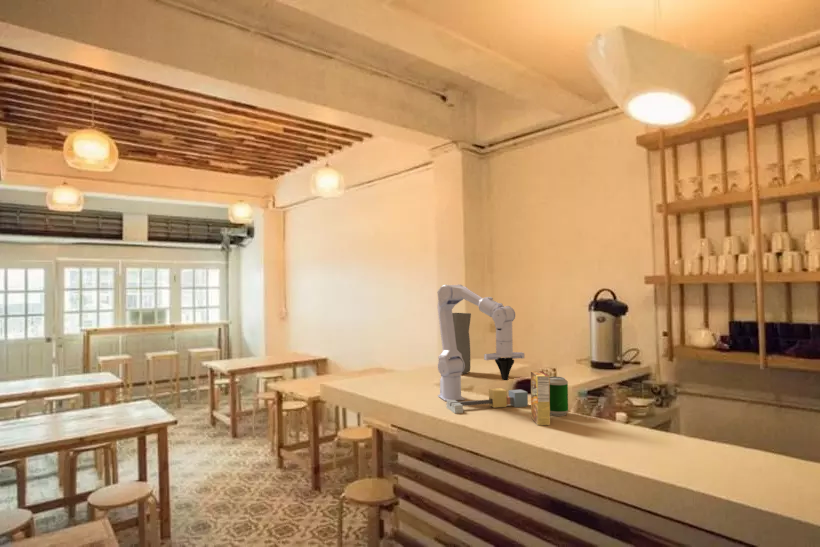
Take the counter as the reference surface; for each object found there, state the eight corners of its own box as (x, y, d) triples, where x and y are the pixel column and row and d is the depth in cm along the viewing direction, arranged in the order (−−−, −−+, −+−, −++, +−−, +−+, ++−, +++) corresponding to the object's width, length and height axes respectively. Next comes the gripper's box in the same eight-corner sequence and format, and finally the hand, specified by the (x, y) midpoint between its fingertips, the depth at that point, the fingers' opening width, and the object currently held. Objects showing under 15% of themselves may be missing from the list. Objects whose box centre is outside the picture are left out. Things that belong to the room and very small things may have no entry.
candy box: (530, 418, 159) (529, 370, 160) (543, 417, 159) (542, 370, 160) (537, 425, 150) (536, 375, 151) (551, 425, 150) (550, 375, 151)
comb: (446, 407, 175) (446, 400, 175) (454, 406, 175) (454, 399, 175) (455, 413, 166) (454, 405, 166) (463, 412, 167) (463, 405, 167)
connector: (504, 404, 178) (504, 390, 178) (521, 403, 180) (520, 389, 180) (511, 407, 173) (510, 393, 174) (527, 406, 175) (527, 392, 175)
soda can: (569, 417, 160) (568, 380, 160) (545, 416, 161) (545, 379, 161) (567, 411, 167) (566, 376, 167) (544, 410, 168) (543, 375, 169)
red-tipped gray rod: (453, 409, 169) (453, 401, 169) (450, 407, 172) (450, 399, 172) (513, 404, 175) (513, 397, 175) (510, 402, 177) (510, 395, 178)
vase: (476, 372, 246) (475, 313, 247) (461, 376, 237) (460, 314, 238) (457, 370, 254) (456, 312, 255) (442, 373, 245) (441, 313, 246)
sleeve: (489, 405, 176) (488, 389, 176) (501, 404, 177) (501, 388, 178) (493, 407, 172) (493, 391, 172) (506, 406, 173) (506, 390, 174)
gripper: (489, 342, 165) (490, 383, 165) (528, 341, 169) (529, 380, 168) (481, 340, 172) (482, 379, 172) (518, 339, 176) (519, 377, 175)
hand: (504, 379), depth 170 cm, fingers closed
